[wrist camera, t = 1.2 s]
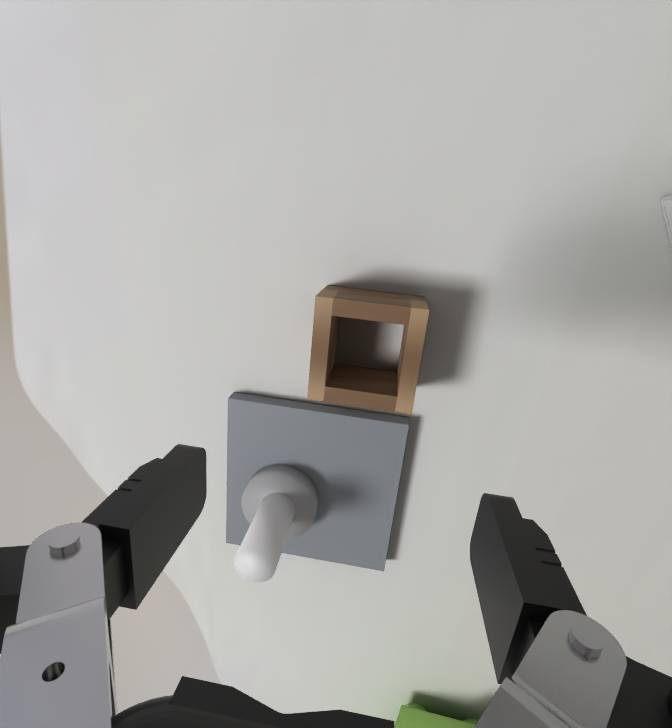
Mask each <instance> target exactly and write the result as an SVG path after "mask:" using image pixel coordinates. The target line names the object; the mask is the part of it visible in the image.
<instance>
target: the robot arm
mask: <svg viewBox="0 0 672 728" xmlns="http://www.w3.org/2000/svg"><path fill="white" fill-rule="evenodd" d="M205 499H206V452H205V449H204V448H200V447H194V446H188V445H181V444H178V445H176V446H175V447H174V448H173V449H172V450H171V451H170V452H169V453H168V454H167V455H166V456H165V457H164V458H163V459H159V458H156V459H154V460H152V461H150V462H148V463H146V464H144V465H142V466H140V467H139V468H138V469H137V470H136V471H135V472H134V473H133V474H132V475H131V476H130V477H128V480H125V481H124V482H123V483H122V484H121V485H120V486H119V487H118V490H115V491H114V492H113V493H112V494H111V495H110V496H109V497H107V498H106V499H105V500H104V501H103V502H102V503H101V504H100V505H99V506H98V507H97V508H96V509H95V510H94V511H93V512H92V513H91V514H90V515H89V516H88V517H87V518H86V519H84V520H83V521H82V522H81V523H70V524H65V525H61V526H58V527H56V528H53V529H51V530H49V531H47V532H45V533H43V534H42V535H41V536H39V537H38V538H37V539H36V540H34V541H33V542H32V544H31V545H28V546H16V547H1V548H0V654H1V657H0V728H394V721H391V720H386V719H381V718H376V717H372V716H367V715H362V714H358V713H353V712H348V711H344V710H331V711H318V712H306V713H293V714H282V713H279V712H277V711H275V710H273V709H271V708H269V707H268V706H266V705H264V704H262V703H260V702H259V701H257V700H255V699H253V698H252V697H250V696H248V695H246V694H244V693H243V692H241V691H239V690H237V689H235V688H234V687H231V686H226V685H222V684H217V683H212V682H208V681H203V680H198V679H193V678H188V677H184V676H182V678H181V680H180V682H179V684H178V686H177V688H176V690H175V692H174V695H173V696H164V697H160V698H155V699H151V700H148V701H145V702H142V703H139V704H137V705H134V706H132V707H130V708H128V709H126V710H124V711H122V712H121V713H119V714H118V711H117V701H116V687H115V673H114V659H113V645H112V631H111V620H110V618H111V616H112V615H113V613H114V612H115V611H116V609H117V608H118V607H119V606H121V607H126V608H130V609H137V608H138V606H139V605H140V603H141V602H142V600H143V599H144V597H145V596H146V594H147V593H148V591H149V590H150V588H151V587H152V585H153V584H154V582H155V581H156V579H157V578H158V576H159V575H160V573H161V572H162V570H163V569H164V567H165V566H166V564H167V563H168V561H169V560H170V558H171V557H172V556H173V554H174V553H175V551H176V550H177V548H178V547H179V545H180V544H181V542H182V541H183V539H184V538H185V536H186V535H187V533H188V532H189V530H190V529H191V527H192V526H193V524H194V523H195V521H196V520H197V518H198V517H199V515H200V514H201V512H202V509H203V507H204V504H205ZM470 560H471V566H472V570H473V575H474V579H475V584H476V588H477V593H478V597H479V602H480V606H481V610H482V615H483V619H484V624H485V628H486V633H487V637H488V642H489V646H490V651H491V655H492V660H493V664H494V669H495V673H496V678H497V682H498V684H501V685H500V687H499V688H498V690H497V692H496V693H495V695H494V696H493V698H492V700H491V701H490V703H489V705H488V706H487V708H486V709H485V711H484V713H483V714H482V716H481V718H480V719H479V721H478V722H477V724H476V726H475V727H474V728H672V677H670V676H667V675H665V674H663V673H661V672H658V671H656V670H654V669H652V668H649V667H647V666H645V665H643V664H640V663H638V662H636V661H634V660H632V659H630V658H628V657H627V656H625V653H624V651H623V649H622V647H621V645H620V644H619V642H618V641H617V640H616V639H615V637H614V636H613V635H612V634H611V633H610V632H609V631H608V630H607V629H606V628H604V627H603V626H602V625H601V624H599V623H598V622H596V621H595V620H593V619H591V618H590V617H588V616H587V615H586V613H585V611H584V609H583V607H582V605H581V603H580V601H579V599H578V597H577V595H576V593H575V591H574V588H573V586H572V584H571V582H570V580H569V578H568V576H567V574H566V572H565V570H564V568H563V567H561V562H560V560H559V558H558V556H557V554H555V550H554V548H553V545H552V543H551V541H550V539H549V537H548V535H547V534H546V533H545V532H544V531H543V530H542V529H541V528H540V527H539V526H538V525H537V524H536V523H535V522H534V521H533V520H530V519H524V518H522V516H521V514H520V511H519V509H518V507H517V504H516V502H515V500H514V499H513V498H512V497H506V496H499V495H493V494H487V493H484V494H483V495H482V498H481V501H480V505H479V509H478V513H477V517H476V521H475V525H474V529H473V533H472V537H471V543H470Z"/></svg>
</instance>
